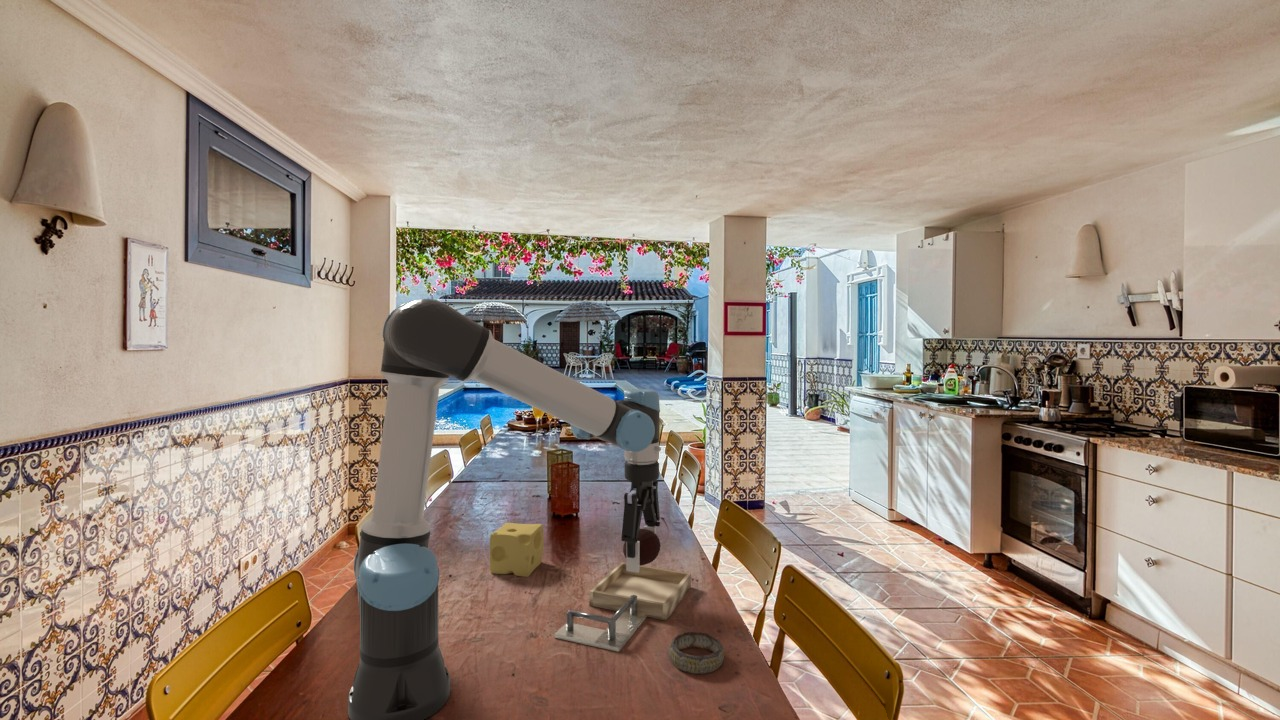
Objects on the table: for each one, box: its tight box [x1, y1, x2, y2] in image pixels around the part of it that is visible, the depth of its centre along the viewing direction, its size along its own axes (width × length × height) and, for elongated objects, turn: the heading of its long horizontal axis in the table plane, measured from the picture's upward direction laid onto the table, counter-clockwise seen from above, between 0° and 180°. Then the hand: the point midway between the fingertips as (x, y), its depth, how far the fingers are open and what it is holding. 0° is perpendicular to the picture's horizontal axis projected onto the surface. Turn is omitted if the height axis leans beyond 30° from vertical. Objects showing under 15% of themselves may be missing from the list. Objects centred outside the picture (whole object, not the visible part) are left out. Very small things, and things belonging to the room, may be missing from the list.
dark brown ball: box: [622, 528, 661, 566], centre depth 129 cm, size 8×9×8 cm
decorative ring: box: [668, 631, 726, 675], centre depth 107 cm, size 10×3×10 cm
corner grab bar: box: [554, 595, 648, 653], centre depth 120 cm, size 16×14×5 cm
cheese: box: [489, 522, 545, 578], centre depth 149 cm, size 10×11×10 cm
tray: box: [588, 561, 692, 621], centre depth 133 cm, size 18×18×3 cm
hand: (641, 562), depth 130 cm, fingers closed on dark brown ball, 9 cm apart
